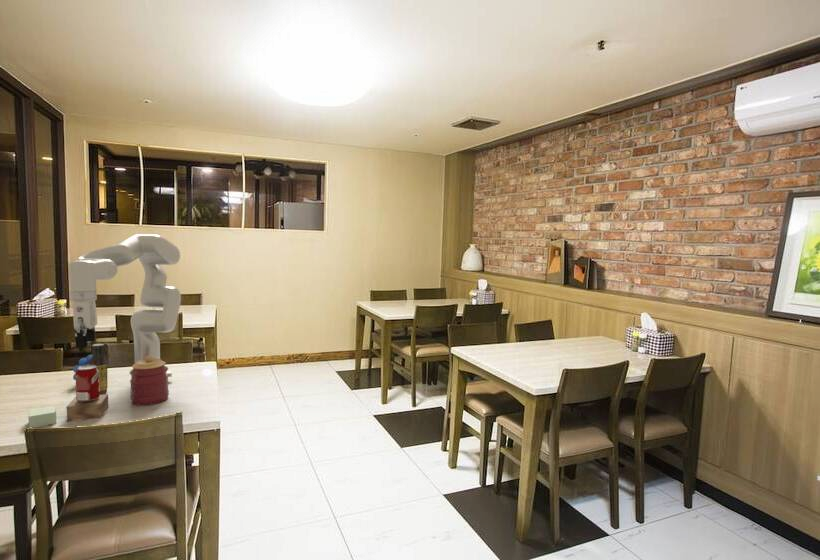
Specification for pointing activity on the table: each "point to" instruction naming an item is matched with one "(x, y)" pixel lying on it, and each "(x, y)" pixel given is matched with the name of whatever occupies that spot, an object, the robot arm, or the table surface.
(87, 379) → the soda can
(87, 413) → the walnut block
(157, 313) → the robot arm
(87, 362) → the grapes
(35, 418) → the green block
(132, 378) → the canister
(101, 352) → the sauce bottle
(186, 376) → the table surface
